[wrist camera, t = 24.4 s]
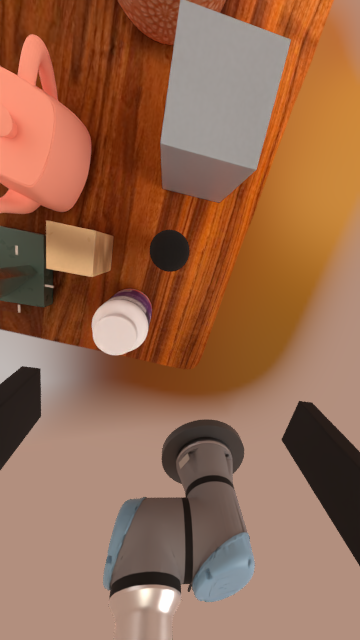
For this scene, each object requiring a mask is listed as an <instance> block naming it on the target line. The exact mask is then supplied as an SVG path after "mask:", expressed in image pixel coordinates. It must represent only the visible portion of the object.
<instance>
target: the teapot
mask: <svg viewBox="0 0 360 640" xmlns="http://www.w3.org/2000/svg"><path fill="white" fill-rule="evenodd" d="M38 71H39V75H40V79H41V83H42V87H43V90H41V89H40V88H38V87H37V86H35V85H36V79H37V74H38ZM90 159H91V138H90V135H89V132H88V130H87V128H86V127H85V125H84V124H83V123H82V122H81V121H80V120H79V118H78V117H77V116H76V115H75V114H74V113H73V112H72V111H70V110H69V109H68V108H67V107H65V106H64V105H63V104H61V103H60V102H59V101H58V96H57V90H56V83H55V77H54V71H53V67H52V63H51V59H50V56H49V53H48V50H47V48H46V46H45V44H44V42H43V41H42V40H41V39H40V38H39V37H38V36H36V35H32V34H31V35H29V36H28V37H27V38H26V40H25V42H24V45H23V48H22V53H21V58H20V63H19V70H18V75H16V74H14V73H12V72H10V71H8V70H6V69H4V68H2V67H0V183H1V184H3V185H4V186H6V187H7V188H9V190H8V191H7V193H6V194H5V195H4V196H3V197H0V213H16V214H27V213H31V212H33V211H34V210H36V209H37V208H38V207H39V206H40V205H42V206H44V207H47V208H49V209H52V210H55V211H58V212H66V211H68V210H70V209H71V208H72V207H73V206H74V204H75V203H76V201H77V200H78V198H79V196H80V194H81V192H82V190H83V188H84V185H85V183H86V180H87V176H88V172H89V166H90Z"/></svg>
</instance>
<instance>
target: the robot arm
mask: <svg viewBox="0 0 360 640" xmlns="http://www.w3.org/2000/svg"><path fill="white" fill-rule="evenodd" d="M40 385H41V384H40V369H38V368H31V367H23V366H22V367H21V368H20V369H18V371H16V372H15V373H13V374H12V375H11V376H10V377H9V378H7V379H6V380H5V381H4V382H2V383H1V384H0V470H1V469H2V467H3V466H4V465H5V463H6V462H7V461H8V459H9V458H10V456H11V455H12V454H13V453H14V451H15V450H16V449H17V447H18V446H19V445H20V443H21V442H22V441H23V439H24V438H25V436H26V435H27V434H28V433H29V431H30V430H31V429H32V427H33V426H34V425H35V423H36V422H37V421H38V419H39V418H40V417H41V387H40ZM282 441H283V443H284V444H285V446H286V448H287V449H288V451H289V452H290V454H291V456H292V457H293V459H294V461H295V462H296V464H297V465H298V467H299V468H300V470H301V472H302V474H303V475H304V477H305V478H306V480H307V481H308V483H309V484H310V486H311V488H312V490H313V491H314V493H315V495H316V496H317V498H318V499H319V501H320V502H321V504H322V506H323V507H324V509H325V511H326V512H327V514H328V516H329V517H330V519H331V520H332V522H333V524H334V525H335V527H336V528H337V530H338V532H339V533H340V535H341V536H342V538H343V540H344V541H345V543H346V545H347V546H348V548H349V549H350V551H351V552H352V554H353V556H354V557H355V559H356V561H357V562H358V564H359V566H360V452H359V451H358V450H357V449H356V448H355V447H354V446H353V444H351V443H350V442H349V440H348V439H347V438H346V437H345V436H344V435H343V434H342V433H341V432H340V431H339V430H338V429H337V428H336V427H335V426H334V425H333V424H332V423H331V422H330V421H329V420H328V419H327V418H326V417H325V416H324V415H323V414H322V413H321V412H320V411H319V410H318V408H317V407H316V406H315V405H313V403H310V402H302V401H299V403H298V405H297V407H296V410H295V412H294V414H293V416H292V418H291V420H290V423H289V425H288V427H287V429H286V432H285V434H284V436H283V438H282ZM176 468H177V472H178V474H179V477H180V480H181V482H182V485H183V487H184V490H185V494H186V498H146V497H143V498H140V499H130V500H127V501H126V502H125V503H124V504H123V505H122V507H121V509H120V511H119V514H118V516H117V519H116V522H115V525H114V529H113V533H112V536H111V541H110V544H109V549H108V557H107V560H106V564H105V569H104V577H103V585H104V587H105V588H106V589H107V590H111V591H110V598H109V604H108V605H109V608H110V610H111V612H112V615H113V617H114V619H115V624H116V625H115V632H114V640H173V638H172V636H173V635H172V618H173V616H174V613H175V612H176V610H177V608H178V606H179V604H180V601H181V584H190V585H189V588H188V592H190V590H191V587H192V589H193V591H194V595H195V597H196V598H197V599H198V600H200V601H205V602H214V601H218V600H222V599H224V598H227V597H229V596H231V595H233V594H235V593H236V592H238V591H239V590H241V589H242V588H243V587H244V586H245V585H246V584H247V583H248V582H249V581H250V579H251V577H252V575H253V572H254V566H255V565H254V557H253V553H252V549H251V545H250V540H249V539H250V538H249V535H248V533H247V530H246V526H245V523H244V520H243V516H242V513H241V510H240V506H239V503H238V500H237V496H236V493H235V490H234V487H233V481H232V480H233V477H232V476H233V462H232V455H231V452H230V449H229V447H228V446H227V445H226V444H225V443H224V442H223V441H221V440H219V439H216V438H212V437H201V438H197V439H194V440H191V441H189V442H187V443H186V444H185V445H183V446H182V447H181V448H180V450H179V451H178V453H177V456H176Z"/></svg>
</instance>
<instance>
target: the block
mask: <svg viewBox="0 0 360 640" xmlns="http://www.w3.org/2000/svg"><path fill="white" fill-rule="evenodd" d="M113 240H114V236H112V235H108V234H105V233H101V232H98V231H95V230H90V229H85V228H80V227H76V226H71V225H66V224H62V223H57V222H52V221H48V220H46V269H51V270H56V271H62V272H67V273H73V274H78V275H84V276H89V277H94V276H97V275H99V274H102V273H105V272H108V271H111V261H112V250H113Z"/></svg>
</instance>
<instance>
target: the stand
mask: <svg viewBox="0 0 360 640" xmlns="http://www.w3.org/2000/svg"><path fill="white" fill-rule="evenodd" d="M290 42H291V40H290V39H288V38H285V37H283V36H280V35H277V34H275V33H272V32H269V31H267V30H264V29H261V28H259V27H256V26H253V25H251V24H248V23H245V22H243V21H240V20H237V19H235V18H232V17H229V16H227V15H224V14H221V13H219V12H216V11H213V10H211V9H208V8H205V7H203V6H200V5H197V4H195V3H192V2H189V1H187V0H180V5H179V13H178V20H177V27H176V34H175V41H174V48H173V56H172V63H171V70H170V77H169V84H168V91H167V99H166V106H165V113H164V120H163V127H162V134H161V142H160V146H161V170H162V189H166V190H170V191H174V192H178V193H182V194H186V195H190V196H194V197H198V198H202V199H206V200H210V201H214V202H218V203H220V202H221V201H222V200H223V199H224V198H225V197H226V196H228V195H229V194H230V193H231V192H232V191H233V190H234V189H235V188H237V187H238V186H239V185H240V184H241V183H242V182H243V181H244V180H245V179H247V178H248V177H249V176H250V175H251V174H252V173H253V172H254V171H256V169H257V165H258V162H259V158H260V154H261V150H262V147H263V143H264V139H265V135H266V132H267V128H268V124H269V120H270V117H271V113H272V109H273V105H274V102H275V98H276V94H277V90H278V87H279V83H280V79H281V75H282V72H283V68H284V64H285V61H286V57H287V53H288V49H289V46H290Z"/></svg>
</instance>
